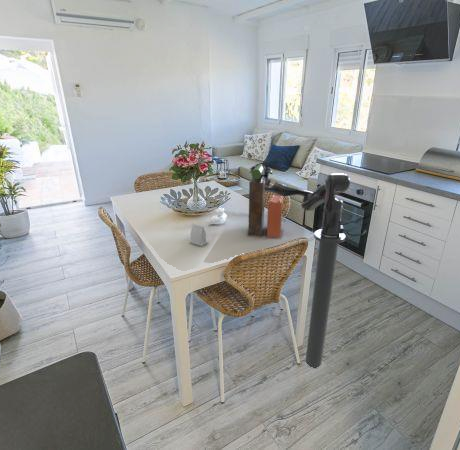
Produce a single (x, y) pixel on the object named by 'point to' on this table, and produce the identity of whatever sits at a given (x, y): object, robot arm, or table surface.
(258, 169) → the bottle
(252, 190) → the post
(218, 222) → the bust
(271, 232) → the bottle holder
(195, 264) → the table surface
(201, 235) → the grey tapered block
